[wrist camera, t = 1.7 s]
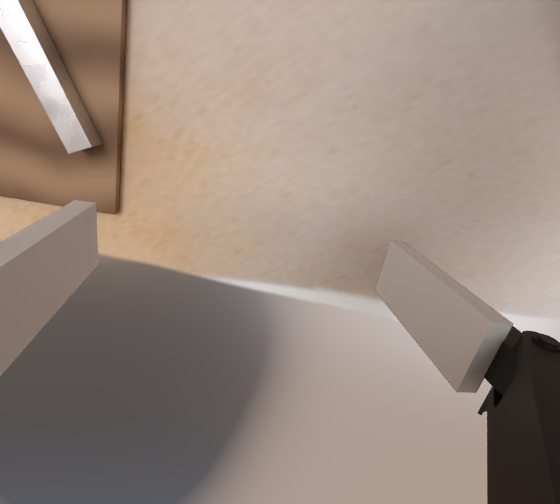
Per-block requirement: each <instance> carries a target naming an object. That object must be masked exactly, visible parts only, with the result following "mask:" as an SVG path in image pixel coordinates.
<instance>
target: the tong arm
mask: <svg viewBox="0 0 560 504" xmlns="http://www.w3.org/2000/svg"><path fill="white" fill-rule="evenodd" d="M0 27H1V29H2V31H3V33H4V35H5V37H6V39H7V40H8V42H9V44H10V46H11V48H12V50H13V52H14V53H15V55H16V57H17V59H18V61H19V63H20V65H21V66H22V68H23V70H24V72H25V74H26V76H27V78H28V79H29V81H30V83H31V85H32V87H33V89H34V91H35V92H36V94H37V96H38V98H39V100H40V102H41V104H42V105H43V107H44V109H45V111H46V113H47V115H48V116H49V118H50V120H51V122H52V124H53V126H54V128H55V129H56V131H57V133H58V135H59V137H60V139H61V141H62V142H63V144H64V146H65V148H66V150H67V152H68V154H69V153H73V152H77V151H81V150H84V149H87V148H91V147H94V146H97V145H101V144H102V142H101V140H100V137H99V135H98V133H97V131H96V129H95V127H94V125H93V123H92V121H91V119H90V117H89V115H88V113H87V111H86V109H85V107H84V105H83V103H82V101H81V99H80V96H79V94H78V92H77V90H76V88H75V86H74V84H73V82H72V80H71V78H70V76H69V74H68V72H67V70H66V68H65V66H64V64H63V62H62V60H61V58H60V55H59V53H58V51H57V49H56V47H55V45H54V43H53V41H52V39H51V37H50V35H49V33H48V31H47V29H46V27H45V25H44V23H43V21H42V19H41V17H40V14H39V12H38V10H37V8H36V6H35V4H34V2H33V0H0Z"/></svg>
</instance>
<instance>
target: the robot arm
mask: <svg viewBox="0 0 560 504" xmlns="http://www.w3.org/2000/svg"><path fill="white" fill-rule="evenodd" d="M97 265H98V244H97V215H96V202H88V201H80V200H74V201H72V202H71V203H69V204H67V205H65V206H63V207H62V208H60V209H58V210H56V211H55V212H53V213H51V214H49V215H48V216H46V217H44V218H42V219H41V220H39V221H37V222H35V223H33V224H32V225H30V226H28V227H26V228H25V229H23V230H21V231H19V232H18V233H16V234H14V235H12V236H10V237H9V238H7V239H5V240H3V241H2V242H0V376H1V375H2V373H3V372H4V371H5V370H6V369H7V368H8V366H9V365H10V364H11V363H12V362H13V361H14V360H15V359H16V357H17V356H18V355H19V354H20V353H21V351H22V350H23V349H24V348H25V347H26V346H27V345H28V344H29V342H30V341H31V340H32V339H33V338H34V337H35V336H36V334H37V333H38V332H39V331H40V330H41V329H42V327H43V326H44V325H45V324H46V323H47V322H48V321H49V320H50V318H51V317H52V316H53V315H54V314H55V313H56V312H57V310H58V309H59V308H60V307H61V306H62V305H63V303H64V302H65V301H66V300H67V299H68V298H69V297H70V295H71V294H72V293H73V292H74V291H75V290H76V289H77V287H78V286H79V285H80V284H81V283H82V282H83V281H84V280H85V278H86V277H87V276H88V275H89V274H90V273H91V272H92V270H93V269H94V268H95V267H96V266H97ZM375 291H376V293H377V294H378V295H379V296H380V298H381V299H382V300H383V301H384V302H385V304H386V305H387V306H388V307H389V309H390V310H391V311H392V312H393V314H394V315H395V316H396V317H397V319H398V320H399V321H400V322H401V324H402V325H403V326H404V327H405V329H406V330H407V331H408V332H409V334H410V335H411V336H412V337H413V339H414V340H415V341H416V342H417V343H418V345H419V346H420V347H421V348H422V350H423V351H424V352H425V353H426V355H427V356H428V357H429V359H430V360H431V361H432V362H433V364H434V365H435V366H436V367H437V369H438V370H439V371H440V372H441V374H442V375H443V376H444V377H445V379H447V381H448V382H449V383H450V385H451V386H452V387H453V388H454V390H455V391H456V392H472V393H473V392H474V393H476V392H477V390H478V389H479V387H480V385H481V383H482V381H483V379H484V378H485V379H486V380H487V381H488V382H489V383H490V384H491V385H492V388H491V390H490V391H489V393H488V395H487V397H486V399H485V401H484V402H483V404H482V406H481V408H480V410H479V412H478V414H480V415H482V413H483V412H485V411H487V474H488V475H487V478H488V479H487V481H488V482H487V483H488V486H487V487H488V489H487V490H488V491H487V493H488V504H560V343H559V342H558V341H557V340H555V339H554V338H552V337H550V336H547V335H544V334H540V333H537V332H533V331H523V332H522V333H521V332H520V331H519V330H517V329H516V328H515V327H513V326H512V325H513V323H511V322H510V321H509V320H507V319H506V318H505V317H503V316H502V315H501V314H499V313H498V312H497V311H495V310H494V309H493V308H491V307H490V306H489V305H487V304H486V303H485V302H483V301H482V300H481V299H480V298H478V297H477V296H476V295H474V294H473V293H472V292H470V291H469V290H468V289H466V288H465V287H464V286H462V285H461V284H460V283H458V282H457V281H456V280H454V279H453V278H452V277H450V276H449V275H448V274H446V273H445V272H444V271H442V270H441V269H440V268H438V267H437V266H436V265H434V264H433V263H432V262H430V261H429V260H428V259H426V258H425V257H424V256H422V255H421V254H420V253H418V252H417V251H416V250H414V249H413V248H412V247H410V246H409V245H408V244H407V243H405V242H397V241H391V242H390V245H389V248H388V251H387V254H386V257H385V260H384V263H383V266H382V269H381V272H380V275H379V278H378V281H377V284H376V288H375Z"/></svg>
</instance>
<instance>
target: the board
mask: <svg viewBox="0 0 560 504" xmlns="http://www.w3.org/2000/svg"><path fill="white" fill-rule="evenodd" d="M33 2H34V4H35V6H36V8H37V10H38V12H39V14H40V17H41V19H42V21H43V23H44V25H45V27H46V29H47V31H48V33H49V35H50V37H51V39H52V41H53V43H54V45H55V47H56V49H57V51H58V53H59V55H60V58H61V60H62V62H63V64H64V66H65V68H66V70H67V72H68V74H69V76H70V78H71V80H72V82H73V84H74V86H75V88H76V90H77V92H78V94H79V96H80V99H81V101H82V103H83V105H84V107H85V109H86V111H87V113H88V115H89V117H90V119H91V121H92V123H93V125H94V127H95V129H96V131H97V133H98V135H99V137H100V140H101V142H102V144H101V145H97V146H94V147H91V148H87V149H84V150H81V151H77V152H73V153H69V154H68V152H67V150H66V148H65V146H64V144H63V142H62V141H61V139H60V137H59V135H58V133H57V131H56V129H55V128H54V126H53V124H52V122H51V120H50V118H49V116H48V115H47V113H46V111H45V109H44V107H43V105H42V104H41V102H40V100H39V98H38V96H37V94H36V92H35V91H34V89H33V87H32V85H31V83H30V81H29V79H28V78H27V76H26V74H25V72H24V70H23V68H22V66H21V65H20V63H19V61H18V59H17V57H16V55H15V53H14V52H13V50H12V48H11V46H10V44H9V42H8V40H7V39H6V37H5V35H4V33H3V31H2V29H1V27H0V196H4V197H10V198H16V199H23V200H29V201H35V202H41V203H47V204H54V205H60V206H65V205H67V204H69V203H71V202H72V201H74V200H80V201H88V202H96V211H97V212H103V213H109V214H116V213H117V212H118V211H119V194H120V167H121V140H122V113H123V86H124V59H125V31H126V4H127V0H33Z"/></svg>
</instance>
